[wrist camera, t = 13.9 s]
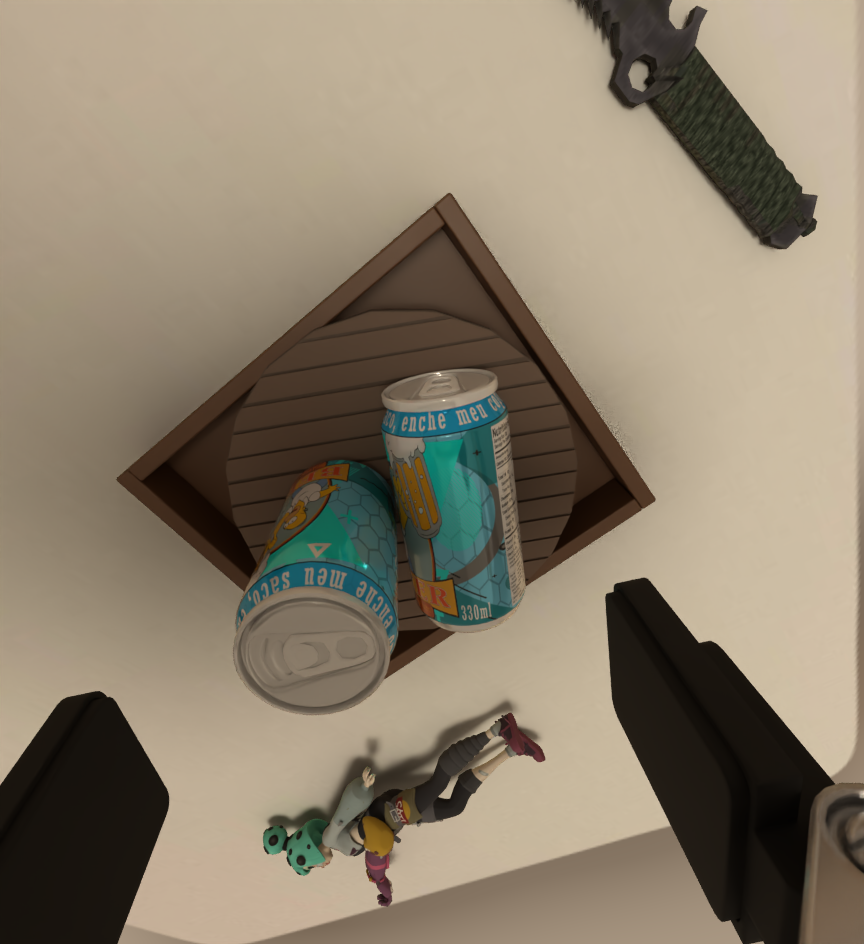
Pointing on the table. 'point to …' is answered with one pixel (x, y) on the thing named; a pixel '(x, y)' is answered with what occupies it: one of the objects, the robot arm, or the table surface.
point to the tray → (391, 287)
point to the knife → (705, 116)
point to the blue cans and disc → (389, 498)
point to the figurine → (395, 809)
